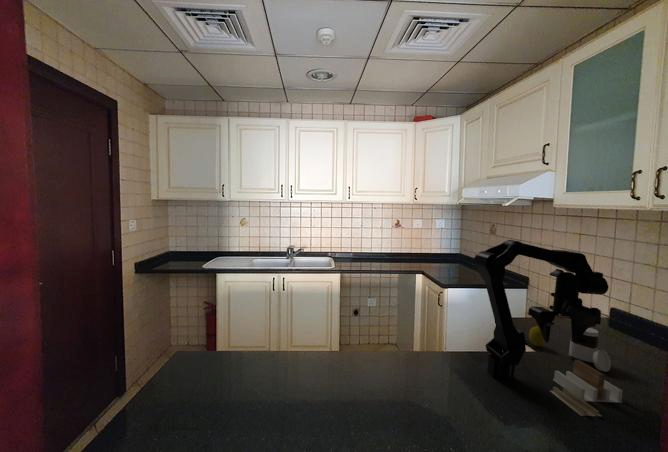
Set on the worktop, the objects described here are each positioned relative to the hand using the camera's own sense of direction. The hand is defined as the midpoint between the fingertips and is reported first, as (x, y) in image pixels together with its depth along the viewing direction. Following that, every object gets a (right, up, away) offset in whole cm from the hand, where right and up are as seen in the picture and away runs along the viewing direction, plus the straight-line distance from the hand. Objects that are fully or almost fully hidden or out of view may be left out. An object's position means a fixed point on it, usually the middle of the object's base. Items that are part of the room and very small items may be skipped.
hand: (560, 342), depth 90 cm
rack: (+3, -13, -5) cm, 14 cm away
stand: (-5, -12, -12) cm, 18 cm away
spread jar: (+20, -13, +14) cm, 28 cm away
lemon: (+10, -12, +25) cm, 29 cm away
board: (+3, -12, -5) cm, 13 cm away
